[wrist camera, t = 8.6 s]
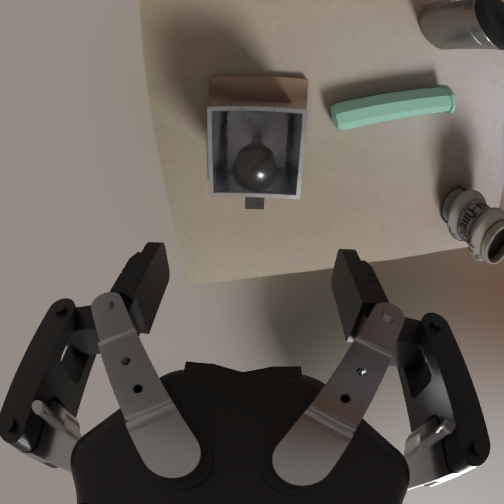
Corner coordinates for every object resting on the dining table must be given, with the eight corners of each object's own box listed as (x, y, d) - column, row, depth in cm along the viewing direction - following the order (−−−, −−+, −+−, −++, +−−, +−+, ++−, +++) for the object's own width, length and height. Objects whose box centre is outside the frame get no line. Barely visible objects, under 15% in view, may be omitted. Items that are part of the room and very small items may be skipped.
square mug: (222, 101, 40) (204, 107, 27) (291, 103, 40) (307, 109, 27) (223, 175, 48) (208, 214, 34) (286, 177, 48) (297, 217, 34)
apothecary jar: (477, 186, 46) (525, 223, 31) (462, 229, 53) (502, 273, 38) (444, 175, 46) (496, 213, 31) (429, 223, 52) (470, 272, 38)
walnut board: (211, 76, 39) (209, 76, 38) (306, 79, 38) (307, 79, 37) (212, 183, 50) (211, 185, 49) (298, 186, 50) (299, 188, 49)
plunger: (228, 111, 36) (207, 125, 22) (286, 112, 36) (304, 128, 22) (228, 164, 40) (210, 211, 26) (283, 166, 40) (297, 214, 26)
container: (339, 130, 38) (460, 109, 32) (326, 97, 37) (448, 80, 31) (335, 137, 44) (446, 116, 38) (324, 107, 43) (435, 89, 37)
